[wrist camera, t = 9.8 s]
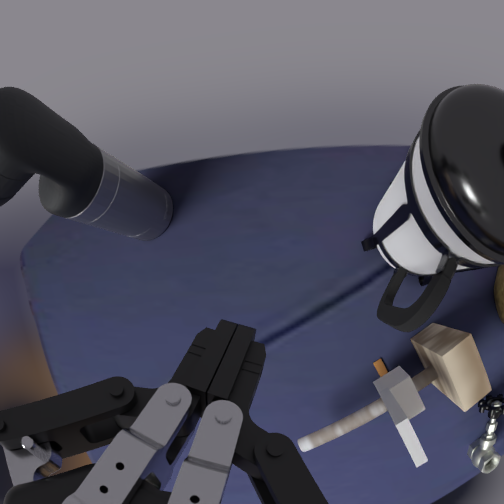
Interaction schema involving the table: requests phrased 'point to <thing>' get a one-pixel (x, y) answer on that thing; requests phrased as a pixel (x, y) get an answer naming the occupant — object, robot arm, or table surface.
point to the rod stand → (424, 379)
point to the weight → (499, 292)
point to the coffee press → (444, 201)
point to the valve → (487, 436)
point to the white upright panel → (402, 408)
